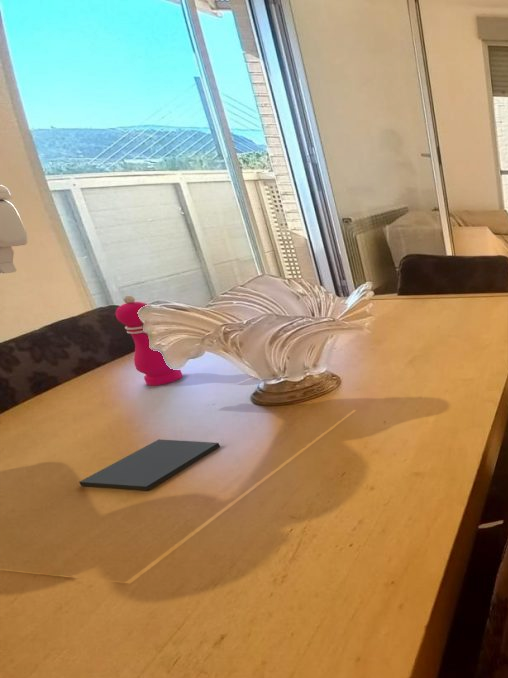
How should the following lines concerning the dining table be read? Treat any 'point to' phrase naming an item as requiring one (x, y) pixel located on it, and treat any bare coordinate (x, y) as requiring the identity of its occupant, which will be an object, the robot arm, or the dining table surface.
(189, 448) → the slate mat
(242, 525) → the dining table surface
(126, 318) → the pepper mill
